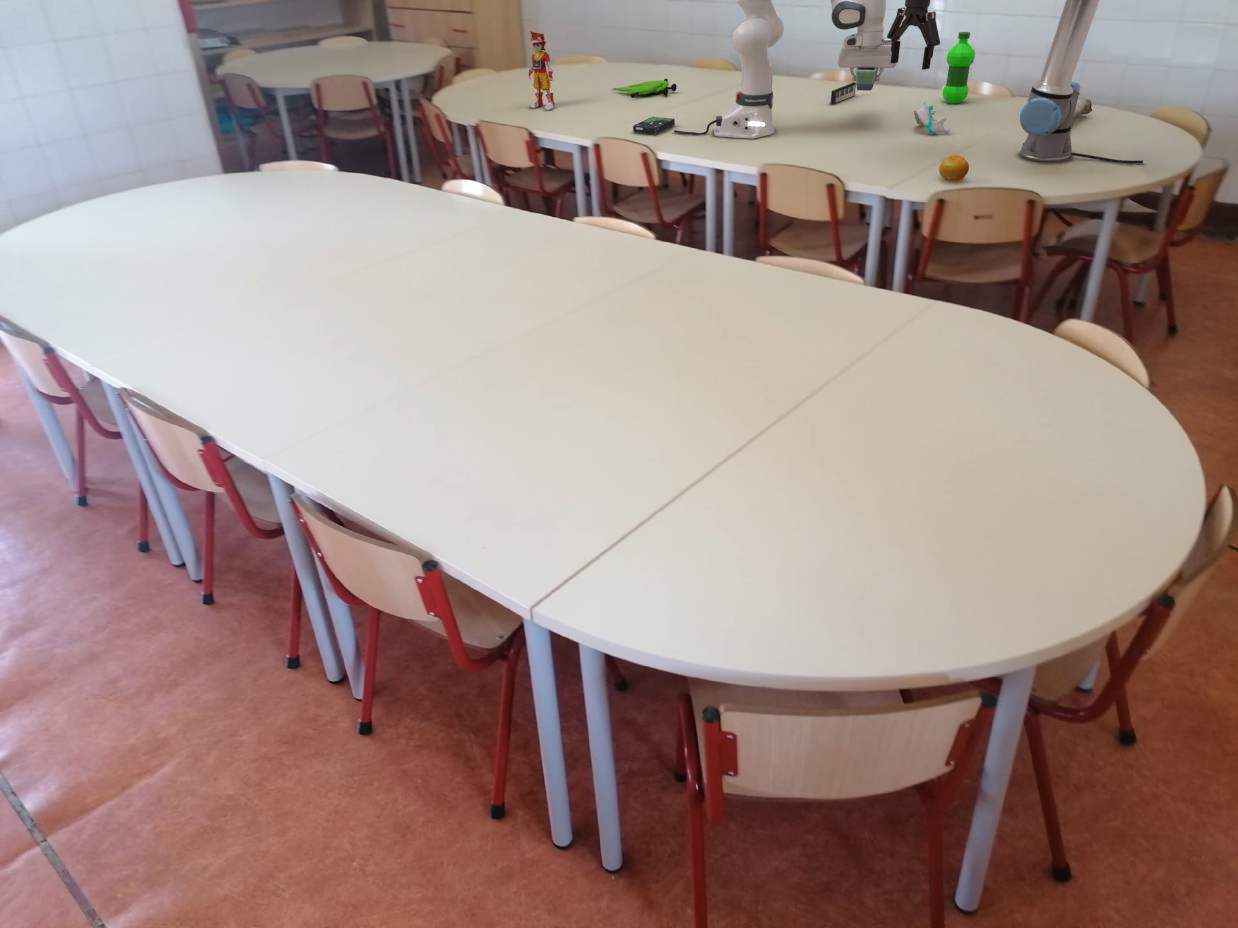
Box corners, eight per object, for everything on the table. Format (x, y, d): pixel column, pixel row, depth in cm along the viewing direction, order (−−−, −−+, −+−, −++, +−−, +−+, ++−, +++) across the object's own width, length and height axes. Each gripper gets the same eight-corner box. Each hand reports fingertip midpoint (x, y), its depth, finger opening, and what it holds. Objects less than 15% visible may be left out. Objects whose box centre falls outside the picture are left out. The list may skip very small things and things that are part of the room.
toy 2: (686, 85, 398) (631, 84, 414) (685, 72, 395) (629, 72, 411) (651, 104, 381) (596, 103, 397) (650, 92, 378) (594, 91, 394)
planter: (874, 92, 318) (876, 70, 314) (853, 91, 320) (855, 70, 316) (879, 75, 340) (881, 54, 336) (860, 74, 342) (862, 54, 338)
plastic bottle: (973, 101, 354) (984, 32, 339) (955, 106, 349) (966, 36, 335) (952, 97, 361) (962, 29, 346) (934, 102, 356) (944, 33, 342)
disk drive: (656, 136, 337) (675, 125, 347) (656, 128, 335) (675, 118, 345) (632, 133, 342) (652, 123, 352) (632, 125, 340) (651, 115, 350)
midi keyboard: (833, 104, 361) (834, 91, 358) (830, 104, 362) (831, 91, 359) (855, 95, 372) (856, 82, 369) (852, 95, 372) (853, 82, 370)
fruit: (933, 171, 274) (950, 147, 271) (934, 173, 282) (951, 150, 279) (956, 186, 273) (974, 163, 270) (956, 188, 281) (973, 165, 278)
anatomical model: (908, 101, 325) (935, 94, 324) (909, 130, 331) (936, 123, 330) (923, 112, 313) (951, 104, 312) (924, 141, 319) (952, 134, 318)
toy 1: (525, 109, 381) (517, 32, 364) (534, 104, 388) (527, 28, 371) (550, 110, 377) (543, 32, 360) (559, 105, 384) (553, 28, 367)
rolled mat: (1059, 103, 333) (1083, 86, 324) (1072, 124, 333) (1097, 107, 325) (1027, 125, 315) (1052, 107, 307) (1041, 147, 316) (1067, 130, 308)
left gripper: (900, 37, 313) (896, 79, 321) (841, 37, 318) (837, 78, 326) (899, 40, 308) (895, 83, 316) (839, 40, 314) (835, 82, 321)
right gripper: (958, -5, 271) (947, 70, 283) (897, -12, 289) (889, 59, 301) (941, -2, 268) (930, 73, 280) (880, -9, 286) (873, 62, 298)
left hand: (865, 81), depth 321 cm, fingers closed on planter, 6 cm apart
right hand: (909, 66), depth 291 cm, fingers open, 13 cm apart
